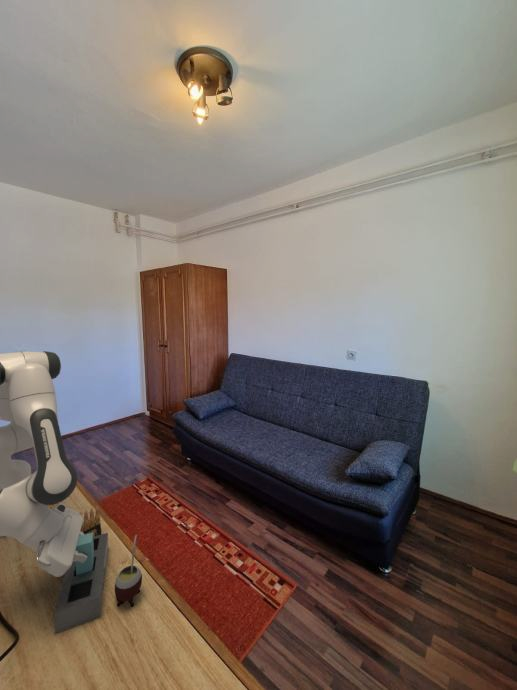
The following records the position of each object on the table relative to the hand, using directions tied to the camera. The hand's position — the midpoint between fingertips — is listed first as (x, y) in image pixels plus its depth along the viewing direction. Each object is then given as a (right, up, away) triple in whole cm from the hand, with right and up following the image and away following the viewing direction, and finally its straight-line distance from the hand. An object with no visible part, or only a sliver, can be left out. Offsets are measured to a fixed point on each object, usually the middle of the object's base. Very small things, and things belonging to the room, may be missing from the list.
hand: (87, 551), depth 82 cm
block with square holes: (-1, -11, +1) cm, 11 cm away
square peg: (-1, -6, 0) cm, 6 cm away
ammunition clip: (-11, -9, +16) cm, 21 cm away
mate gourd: (+14, -11, -3) cm, 18 cm away
